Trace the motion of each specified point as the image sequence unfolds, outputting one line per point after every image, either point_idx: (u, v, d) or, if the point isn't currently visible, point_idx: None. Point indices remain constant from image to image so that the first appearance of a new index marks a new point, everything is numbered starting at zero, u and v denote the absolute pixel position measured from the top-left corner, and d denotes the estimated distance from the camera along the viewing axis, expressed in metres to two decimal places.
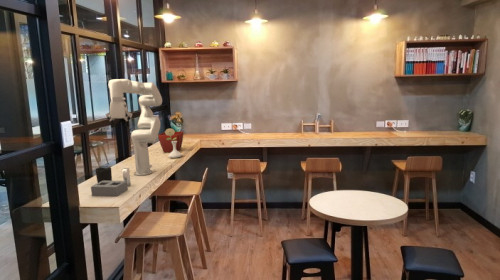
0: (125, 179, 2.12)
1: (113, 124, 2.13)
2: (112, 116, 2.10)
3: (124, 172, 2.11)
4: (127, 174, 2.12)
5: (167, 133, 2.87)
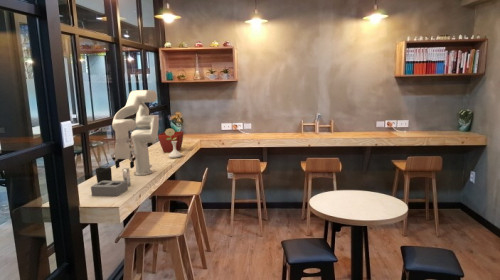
0: (125, 179, 2.12)
1: (118, 164, 2.12)
2: (117, 157, 2.09)
3: (124, 172, 2.11)
4: (127, 174, 2.12)
5: (167, 133, 2.87)
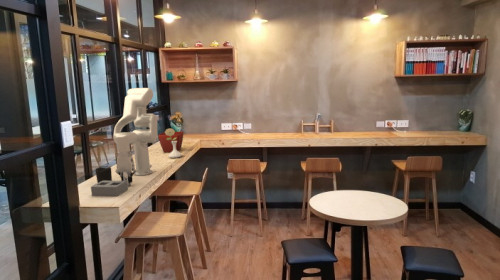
0: (125, 179, 2.12)
1: None
2: (119, 170, 2.11)
3: (124, 172, 2.11)
4: (127, 174, 2.12)
5: (167, 133, 2.87)
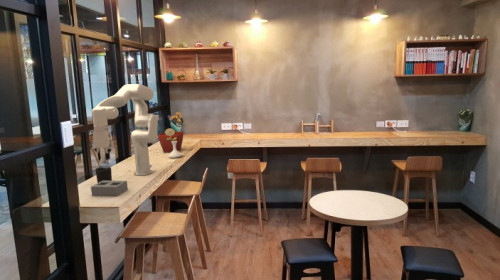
0: (102, 155, 1.99)
1: None
2: (95, 146, 1.99)
3: (101, 148, 1.98)
4: (104, 150, 1.99)
5: (167, 133, 2.87)
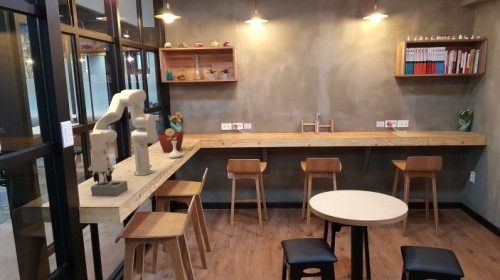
0: (101, 183, 2.01)
1: (96, 178, 2.02)
2: (94, 170, 1.99)
3: (100, 175, 2.00)
4: (103, 177, 2.01)
5: (167, 133, 2.87)
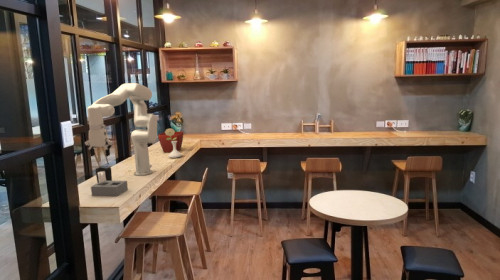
0: (101, 183, 2.00)
1: (93, 152, 2.00)
2: (91, 144, 1.97)
3: (99, 175, 2.00)
4: (103, 178, 2.00)
5: (167, 133, 2.87)
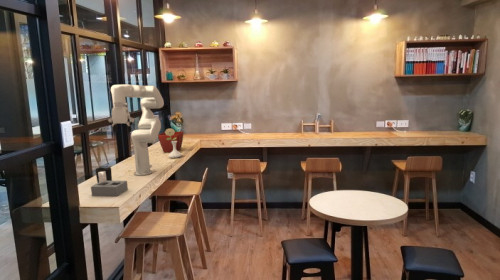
0: (101, 183, 2.00)
1: (115, 129, 2.15)
2: (114, 121, 2.12)
3: (100, 175, 2.00)
4: (103, 178, 2.00)
5: (167, 133, 2.87)
